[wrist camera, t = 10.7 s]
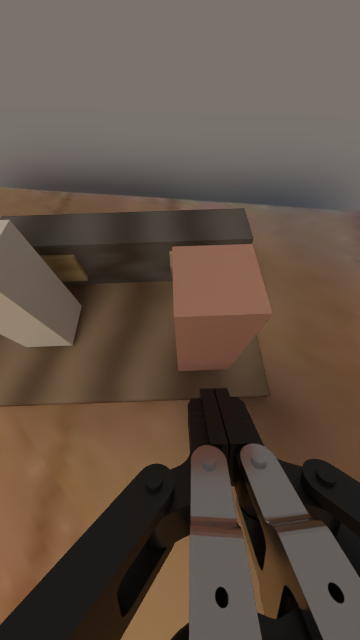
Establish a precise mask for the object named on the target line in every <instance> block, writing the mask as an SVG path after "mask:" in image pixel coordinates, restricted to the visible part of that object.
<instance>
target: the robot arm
mask: <svg viewBox="0 0 360 640" xmlns="http://www.w3.org/2000/svg"><path fill="white" fill-rule="evenodd" d="M188 429H189V443H190V456H189V457H188V459H187V460H186V461H185V462H184V463H183V464H182V465H180V466H178V467H175V468H173V469H169V468H167V467H166V466H165V465H162V464H152V465H149V466H147V467H145V468H144V469H143V470H142V471H141V472H140V473H139V474H138V475H137V476H136V477H135V478H134V479H133V480H132V482H131V483H130V484H129V485H128V486H127V487H126V488H125V489H124V490H123V491H122V492H121V494H120V495H119V496H118V497H117V498H116V499H115V500H114V501H113V502H112V503H111V504H110V506H109V507H108V508H107V509H106V510H105V511H104V512H103V513H102V514H101V515H100V517H99V518H98V519H97V520H96V521H95V522H94V523H93V524H92V525H91V526H90V527H89V529H88V530H87V531H86V532H85V533H84V534H83V535H82V536H81V537H80V538H79V539H78V541H77V542H76V543H75V544H74V545H73V546H72V547H71V548H70V549H69V550H68V552H67V553H66V554H65V555H64V556H63V557H62V558H61V559H60V560H59V561H58V562H57V564H56V565H55V566H54V567H53V568H52V569H51V570H50V571H49V572H48V573H47V575H46V576H45V577H44V578H43V579H42V580H41V581H40V582H39V583H38V584H37V585H36V587H35V588H34V589H33V590H32V591H31V592H30V593H29V594H28V595H27V596H26V597H25V599H24V600H23V601H22V602H21V603H20V604H19V605H18V606H17V607H16V608H15V610H14V611H13V612H12V613H11V614H10V615H9V616H8V617H7V618H6V619H5V620H4V622H3V623H2V624H1V625H0V640H120V639H121V638H122V636H123V634H124V632H125V631H126V629H127V627H128V625H129V623H130V622H131V620H132V618H133V616H134V615H135V613H136V611H137V609H138V608H139V606H140V604H141V602H142V601H143V599H144V597H145V595H146V594H147V592H148V590H149V588H150V587H151V585H152V583H153V581H154V580H155V578H156V576H157V574H158V572H159V571H160V569H161V567H162V565H163V564H164V562H165V560H166V558H167V557H168V555H169V553H170V551H171V550H172V548H173V546H174V544H175V542H177V541H179V540H180V539H182V538H184V537H186V536H188V535H190V595H189V623H188V624H186V625H185V626H184V627H183V628H181V629H180V630H179V631H178V632H177V633H176V634H175V635H174V636H173V637H172V639H171V640H360V483H359V482H358V481H356V480H355V479H353V478H351V477H350V476H348V475H347V474H345V473H344V472H342V471H340V470H339V469H337V468H336V467H334V466H332V465H331V464H329V463H327V462H325V461H322V460H319V459H309V460H307V461H305V462H304V464H303V467H301V466H298V465H294V464H290V463H287V462H284V461H281V460H279V459H277V458H276V457H275V455H274V454H273V453H272V452H271V451H270V450H269V449H268V448H266V447H264V445H263V443H262V441H261V438H260V436H259V434H258V432H257V430H256V428H255V426H254V423H253V421H252V419H251V417H250V415H249V413H248V411H247V408H246V406H245V404H244V403H243V402H242V401H241V400H240V399H239V398H238V397H230V394H229V392H228V389H227V388H201V389H200V398H191V400H190V402H189V404H188ZM231 486H235V490H236V494H237V503H236V504H237V510H238V513H239V516H240V520H241V523H242V526H243V529H244V533H245V536H246V539H247V543H248V546H249V549H250V552H251V556H252V559H253V562H254V566H255V569H256V572H257V576H258V581H259V588H260V595H261V601H262V605H263V610H264V614H265V615H262V614H259V613H257V609H256V604H255V598H254V593H253V587H252V582H251V576H250V571H249V565H248V560H247V554H246V549H245V543H244V538H243V534H242V530H241V527H240V526H239V525H238V523H237V518H236V512H235V506H234V500H233V494H232V489H231Z"/></svg>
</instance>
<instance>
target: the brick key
mask: <svg viewBox="0 0 360 640" xmlns="http://www.w3.org/2000/svg"><path fill="white" fill-rule="evenodd" d="M172 260H173V307H174V326H175V338H176V350H177V362H178V371H200V370H227V369H229V368H230V367H231V365H232V364H233V363H234V361H235V360H236V359H237V358H238V356H239V355H240V354H241V353H242V351H243V350H244V349H245V348H246V346H247V345H248V344H249V343H250V341H251V340H252V339H253V338H254V336H255V335H256V334H257V333H258V331H259V330H260V329H261V327H262V326H263V325H264V324H265V322H266V321H267V320H268V319H269V317H270V316H271V315H272V314H273V313H272V310H271V306H270V303H269V299H268V296H267V292H266V289H265V286H264V282H263V279H262V275H261V272H260V268H259V265H258V261H257V258H256V255H255V251H254V248H253V244H236V245H207V246H177V247H172Z"/></svg>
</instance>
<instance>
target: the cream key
mask: <svg viewBox="0 0 360 640" xmlns="http://www.w3.org/2000/svg"><path fill="white" fill-rule="evenodd" d="M81 307H82V306H81V304H80V303H79V302H78V301H77V300H76V298H75V297H74V296H73V295H72V294H71V292H70V291H69V290H68V289H67V288H66V286H65V285H64V284H63V283H62V282H61V281H60V279H59V278H58V277H57V276H56V275H55V273H54V272H53V271H52V270H51V269H50V267H49V266H48V265H47V264H46V263H45V261H44V260H43V259H42V258H41V257H40V256H39V254H38V253H37V252H36V251H35V250H34V248H33V247H32V246H31V245H30V244H29V242H28V241H27V240H26V239H25V238H24V236H23V235H22V234H21V233H20V232H19V230H18V229H17V228H16V227H15V226H14V225H13V223H12V222H11V221H10V220H0V334H1V335H3V336H5V337H7V338H9V339H11V340H13V341H15V342H17V343H19V344H21V345H23V346H25V347H44V346H72V345H73V342H74V337H75V333H76V329H77V324H78V320H79V316H80V312H81Z"/></svg>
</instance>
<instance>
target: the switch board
mask: <svg viewBox="0 0 360 640" xmlns="http://www.w3.org/2000/svg"><path fill="white" fill-rule="evenodd" d="M0 220H10V221H11V222H12V223H13V225H14V226H15V227H16V228H17V229H18V230H19V232H20V233H21V234H22V235H23V236H24V238H25V239H26V240H27V241H28V242H29V244H30V245H31V246H32V247H33V248H34V250H35V251H36V252H37V253H38V254H39V256H40V257H41V258H42V259H43V260H44V261H45V263H46V264H47V265H48V266H49V267H50V269H51V270H52V271H53V272H54V273H55V275H56V276H57V277H58V278H59V279H60V281H61V282H62V283H63V284H64V285H65V286H66V288H67V289H68V290H69V291H70V292H71V294H72V295H73V296H74V297H75V298H76V300H77V301H78V302H79V303H80V304H81V306H82V307H81V312H80V316H79V320H78V324H77V329H76V333H75V337H74V342H73V345H72V346H44V347H25V346H23V345H21V344H19V343H17V342H15V341H13V340H11V339H9V338H7V337H5V336H3V335H1V334H0V407H5V406H32V405H59V404H85V403H112V402H138V401H165V400H191V398H200V389H201V388H227V389H228V392H229V394H230V397H238V398H244V397H266V396H269V395H270V392H269V388H268V384H267V379H266V375H265V371H264V366H263V362H262V358H261V353H260V349H259V345H258V340H257V336H256V335H255V336H254V338H253V339H252V340H251V341H250V343H249V344H248V345H247V346H246V348H245V349H244V350H243V351H242V353H241V354H240V355H239V356H238V358H237V359H236V360H235V361H234V363H233V364H232V365H231V367H230V368H229V369H227V370H200V371H178V362H177V350H176V338H175V326H174V307H173V260H172V247H177V246H207V245H236V244H252V241H253V236H252V233H251V229H250V226H249V223H248V219H247V216H246V212H245V209H244V208H241V209H211V210H181V211H151V212H121V213H91V214H61V215H32V216H2V217H1V218H0Z"/></svg>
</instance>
